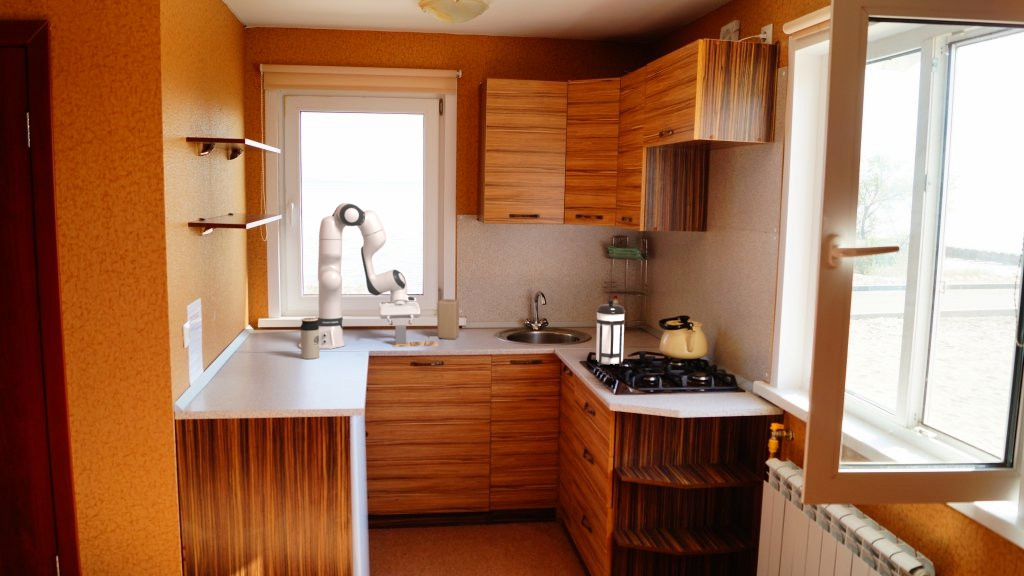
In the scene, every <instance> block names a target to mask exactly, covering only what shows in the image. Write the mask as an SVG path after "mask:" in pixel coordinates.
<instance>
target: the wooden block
mask: <svg viewBox="0 0 1024 576" xmlns="http://www.w3.org/2000/svg"><path fill="white" fill-rule="evenodd" d="M436 308H437V309H436V310H437V312H436V313H437V316H436V317H437V332H436V333H437V338H438V339H439V338H441V339H440V340H456V339H457V338H458V337H459V336H460V301H459V299H447V298H444V299H443V298H442V299H440V300H438V301H437V307H436Z"/></svg>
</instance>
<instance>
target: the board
mask: <svg viewBox="0 0 1024 576" xmlns="http://www.w3.org/2000/svg"><path fill="white" fill-rule="evenodd" d="M391 344H392V347H393V348H401V347H403V348H407V347H409V348H410V347H438V346H439V344H438V342H437V341H435V340H434V341H433V340H430V341H406V345H396V344H395V341H393V342H392V343H391Z"/></svg>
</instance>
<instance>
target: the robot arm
mask: <svg viewBox="0 0 1024 576" xmlns="http://www.w3.org/2000/svg"><path fill="white" fill-rule="evenodd" d="M346 226H347V227H356V226H357V228H359V231H360V233H361V236H362V239H363V245H362V246H361V248H360V254H361V260H362V261H361V262H362V265H363V269H364V274H365V275H364V276H365V280H366V281H365V282H366V288H367V291H368V293H369V294H371V295H373V296H376V297H377V296H379V295H381V294H385V293H387V292H390V296H389V297H390V301H388V302H387V301H386V302H381V303H379V304H378V309H379V318H380V319H381V320H386V321H387V322H388V323H389V326H393V324H394V323H393V320H392V319H396V320H397V319H408V325H409V326H410V325H412V324H413V323H412V322H413V321H414V319H419V318H420V317H421V309H420V304H419V303H418V300H417V298H416V297H415V296H410V295H408V284H407V281H406V278H405V276H404V275H403V273H402V272H401V271H399V270H397V269H391V270H387V271H385V272H382V273H379V274H375V270H374V265H373V256H374V255H375V254H376V253H377V252H378V251H379V250H380V249H382V248H383V246H384V245H385V244H386V241H387V236H386V232H385V229H384V226H383V225H382V222H381V220H380V218H379V217H378V215H377V213H376V212H375V211H373V210H362V209H361V208H360V207H359V206H357V205H355V204H354V203H350V202H345V203H341V204H339V205H338V206H336V209H335V210H334V212H333V213H332V215H330V216H325V217H323V218H322V220H321V222H320V226H319V232H318V233H319V234H318V263H317V281H318V317H314V318H318V320H317V324H318V325H319V350H331V349H335V348H336V349H337V348H340V347H341V348H342V347H344V346H346V341H345V339H344V338H345V337H344V331H343V329H344V319H343V315H342V313H343V311H342V307H343V306H342V300H343V299H342V295H343V294H342V292H343V278H342V275H341V271H342V270H341V269H342V257H343V256H342V255H343V230H344V228H346ZM298 348H299V349H301V342H299V344H298Z"/></svg>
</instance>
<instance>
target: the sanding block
mask: <svg viewBox="0 0 1024 576" xmlns="http://www.w3.org/2000/svg"><path fill="white" fill-rule="evenodd" d="M394 330H395V333H394V334H395V335H394V336H395V339H394V340H395V341H394V342H395V344H396V345H406V342H407V326H406V324H405V325H395V326H394Z"/></svg>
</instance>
